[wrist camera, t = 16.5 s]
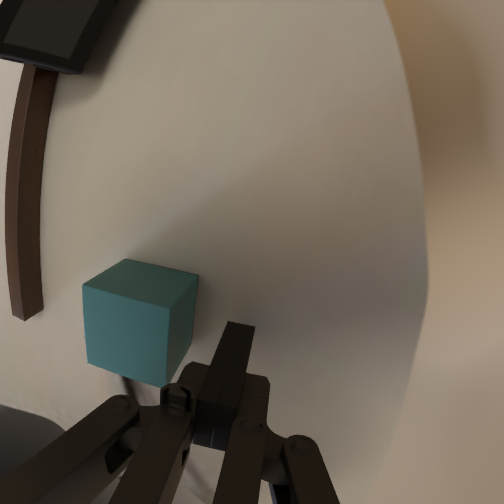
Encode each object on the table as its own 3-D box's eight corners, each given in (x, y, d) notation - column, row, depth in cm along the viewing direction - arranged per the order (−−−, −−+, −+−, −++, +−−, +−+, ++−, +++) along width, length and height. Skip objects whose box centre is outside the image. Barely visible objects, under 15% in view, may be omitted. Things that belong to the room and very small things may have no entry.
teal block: (199, 274, 19) (170, 308, 14) (191, 345, 20) (166, 390, 16) (125, 258, 19) (81, 284, 15) (123, 326, 21) (87, 363, 16)
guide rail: (150, -127, 10) (141, -140, 8) (43, 309, 22) (24, 321, 19) (136, -124, 11) (127, -137, 8) (31, 304, 22) (12, 315, 19)
